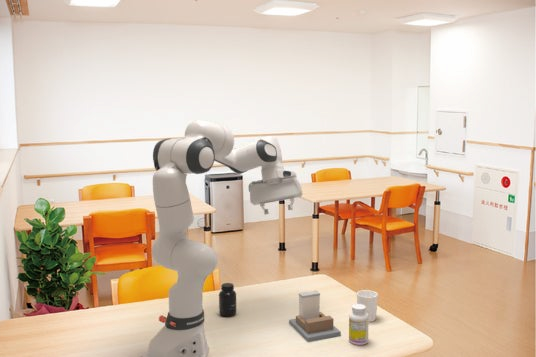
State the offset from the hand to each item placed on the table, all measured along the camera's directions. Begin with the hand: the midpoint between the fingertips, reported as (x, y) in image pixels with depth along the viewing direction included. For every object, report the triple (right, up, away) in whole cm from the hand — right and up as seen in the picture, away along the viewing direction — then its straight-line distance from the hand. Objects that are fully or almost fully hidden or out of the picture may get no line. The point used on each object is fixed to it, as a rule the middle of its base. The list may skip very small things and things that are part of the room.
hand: (278, 212), depth 205 cm
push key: (+11, -40, -4) cm, 42 cm away
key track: (+13, -42, -7) cm, 45 cm away
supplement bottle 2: (+28, -44, -18) cm, 55 cm away
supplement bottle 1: (-20, -41, +7) cm, 46 cm away
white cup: (+34, -41, +1) cm, 53 cm away
